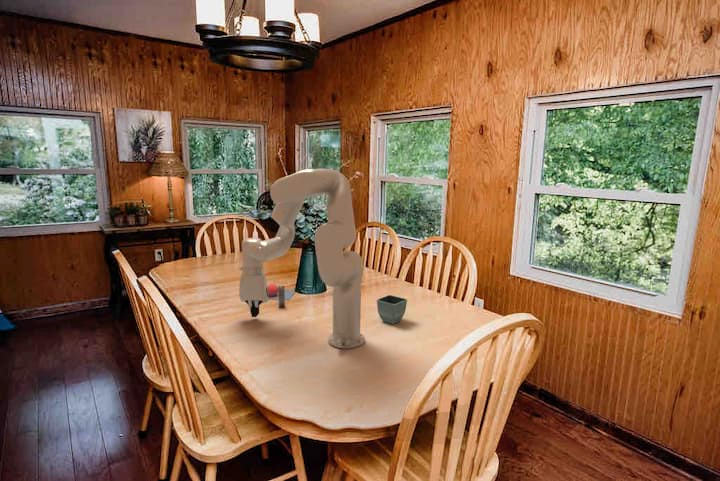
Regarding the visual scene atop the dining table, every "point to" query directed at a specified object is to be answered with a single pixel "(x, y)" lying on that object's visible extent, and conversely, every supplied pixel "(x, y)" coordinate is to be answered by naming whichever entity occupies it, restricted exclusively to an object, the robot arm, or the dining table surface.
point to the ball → (272, 290)
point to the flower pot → (391, 308)
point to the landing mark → (287, 295)
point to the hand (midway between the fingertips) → (255, 315)
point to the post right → (281, 296)
